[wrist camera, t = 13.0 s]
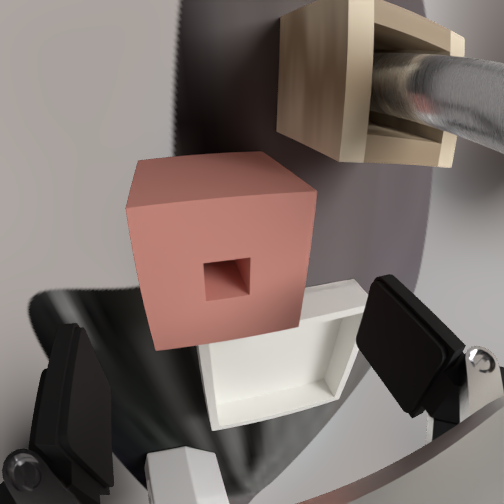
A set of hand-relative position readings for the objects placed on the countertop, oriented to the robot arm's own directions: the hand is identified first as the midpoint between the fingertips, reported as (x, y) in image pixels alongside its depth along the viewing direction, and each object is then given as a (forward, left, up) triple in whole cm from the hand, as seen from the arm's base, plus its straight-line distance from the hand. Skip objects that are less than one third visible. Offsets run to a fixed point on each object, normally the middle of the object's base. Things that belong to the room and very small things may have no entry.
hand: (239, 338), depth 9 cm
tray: (+11, +5, -8) cm, 14 cm away
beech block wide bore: (-8, +7, -8) cm, 13 cm away
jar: (+29, -5, -8) cm, 30 cm away
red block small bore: (-1, 0, -8) cm, 8 cm away
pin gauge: (-8, +7, -8) cm, 13 cm away
